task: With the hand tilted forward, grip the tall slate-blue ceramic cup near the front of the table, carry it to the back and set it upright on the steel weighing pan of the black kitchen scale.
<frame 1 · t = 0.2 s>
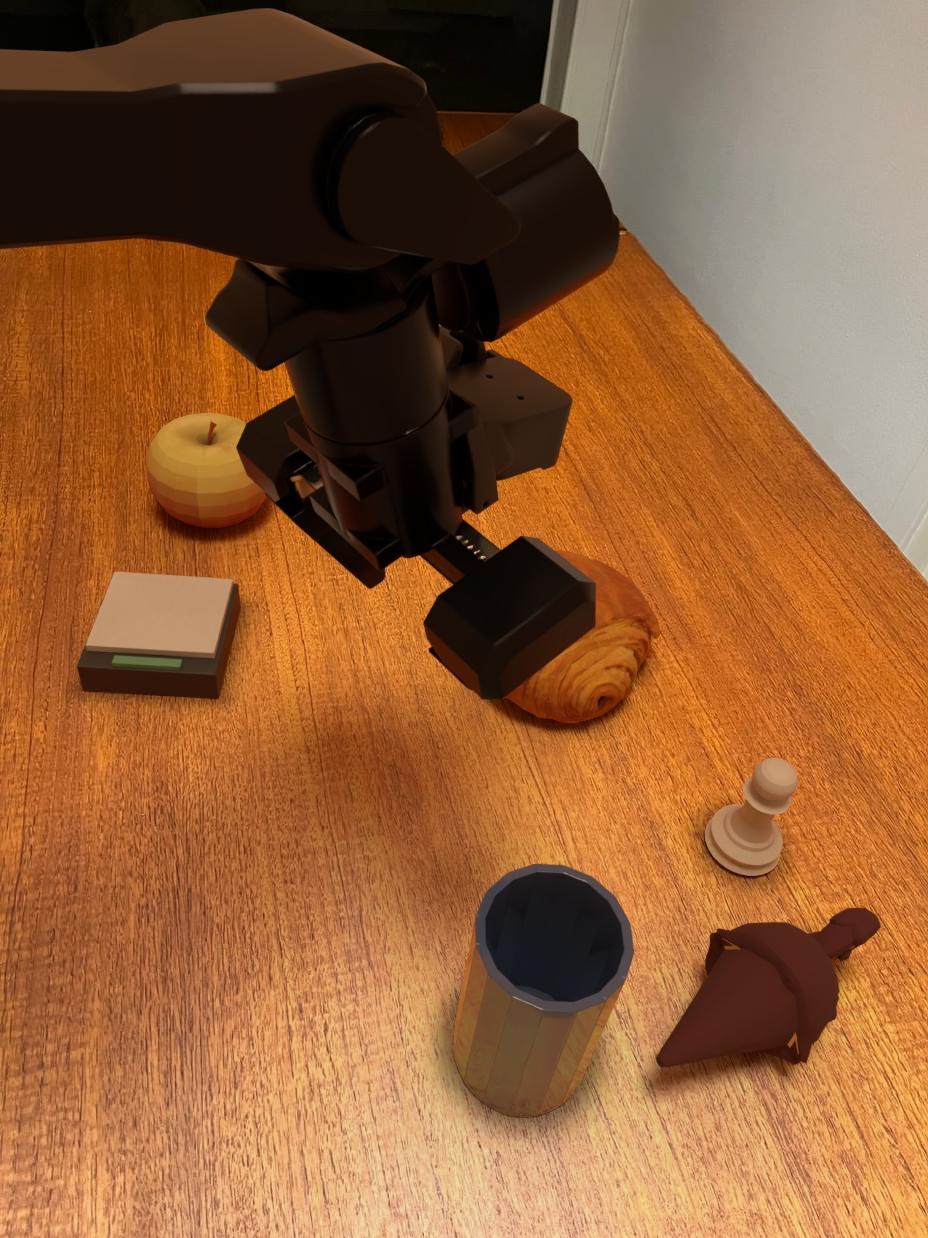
hand: (429, 633, 49), 16 cm above the table, tool pointing down, fingers open, 9 cm apart
cup: (519, 1047, 50), on the table
croissant: (550, 652, 72), on the table
apple: (215, 510, 80), on the table
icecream: (745, 1019, 53), on the table
chess piece: (740, 846, 61), on the table
scale: (165, 647, 68), on the table
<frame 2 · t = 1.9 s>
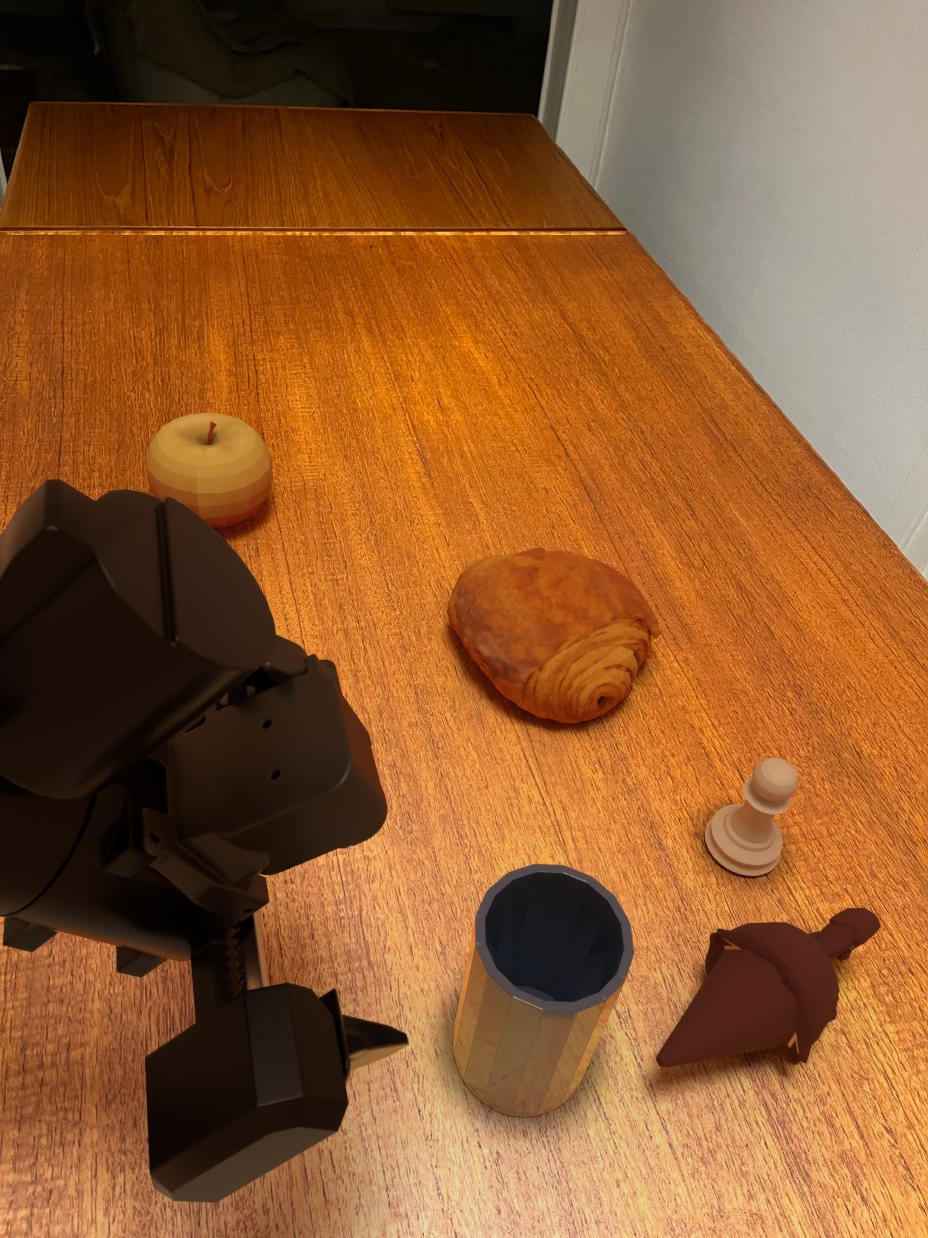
hand: (374, 934, 40), 14 cm above the table, tool tilted 45°, fingers open, 9 cm apart
nothing on the table moved.
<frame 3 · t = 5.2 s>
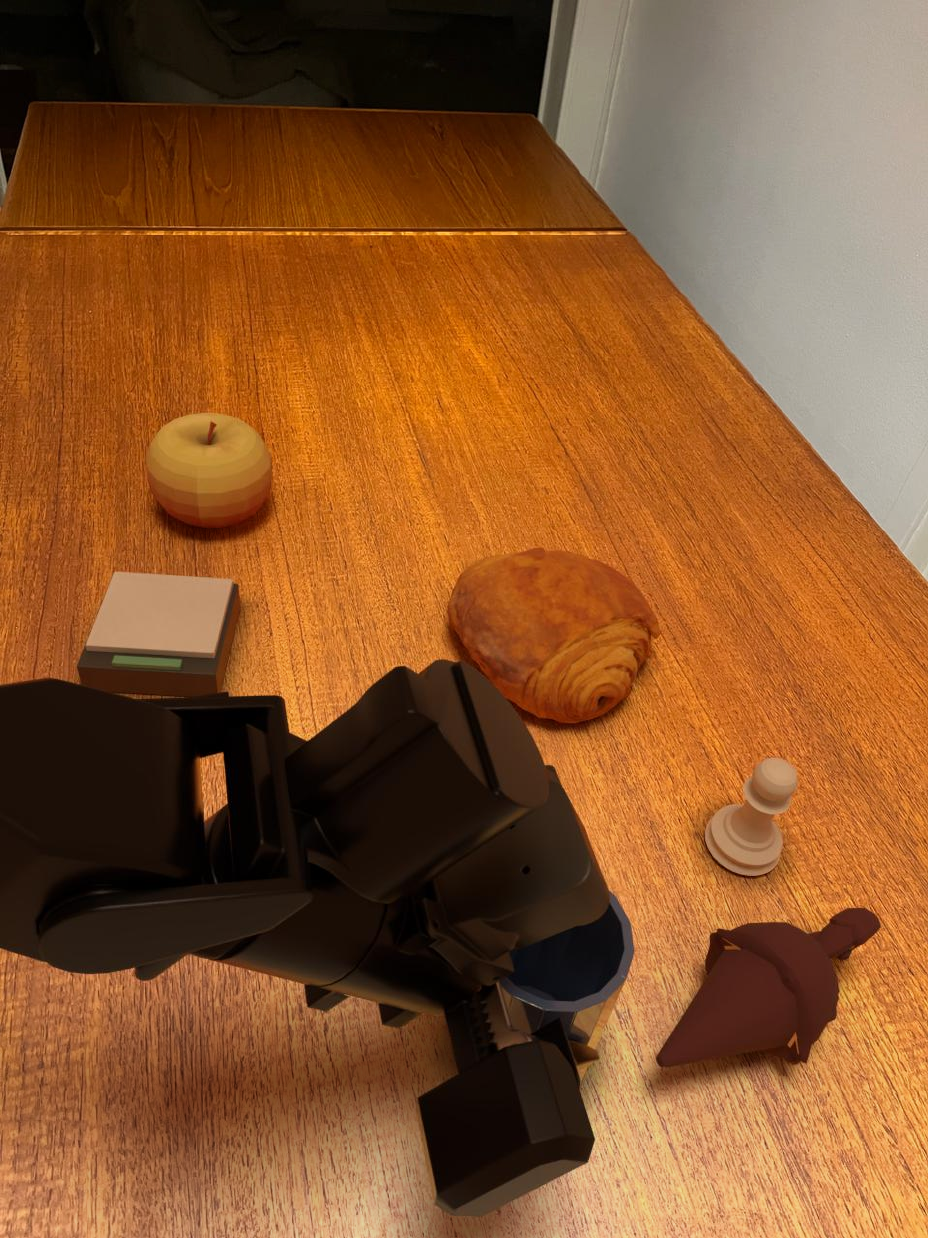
hand: (565, 984, 46), 7 cm above the table, tool tilted 45°, fingers closed on cup, 7 cm apart
cup: (519, 1047, 51), on the table, touching gripper
everything else where it was.
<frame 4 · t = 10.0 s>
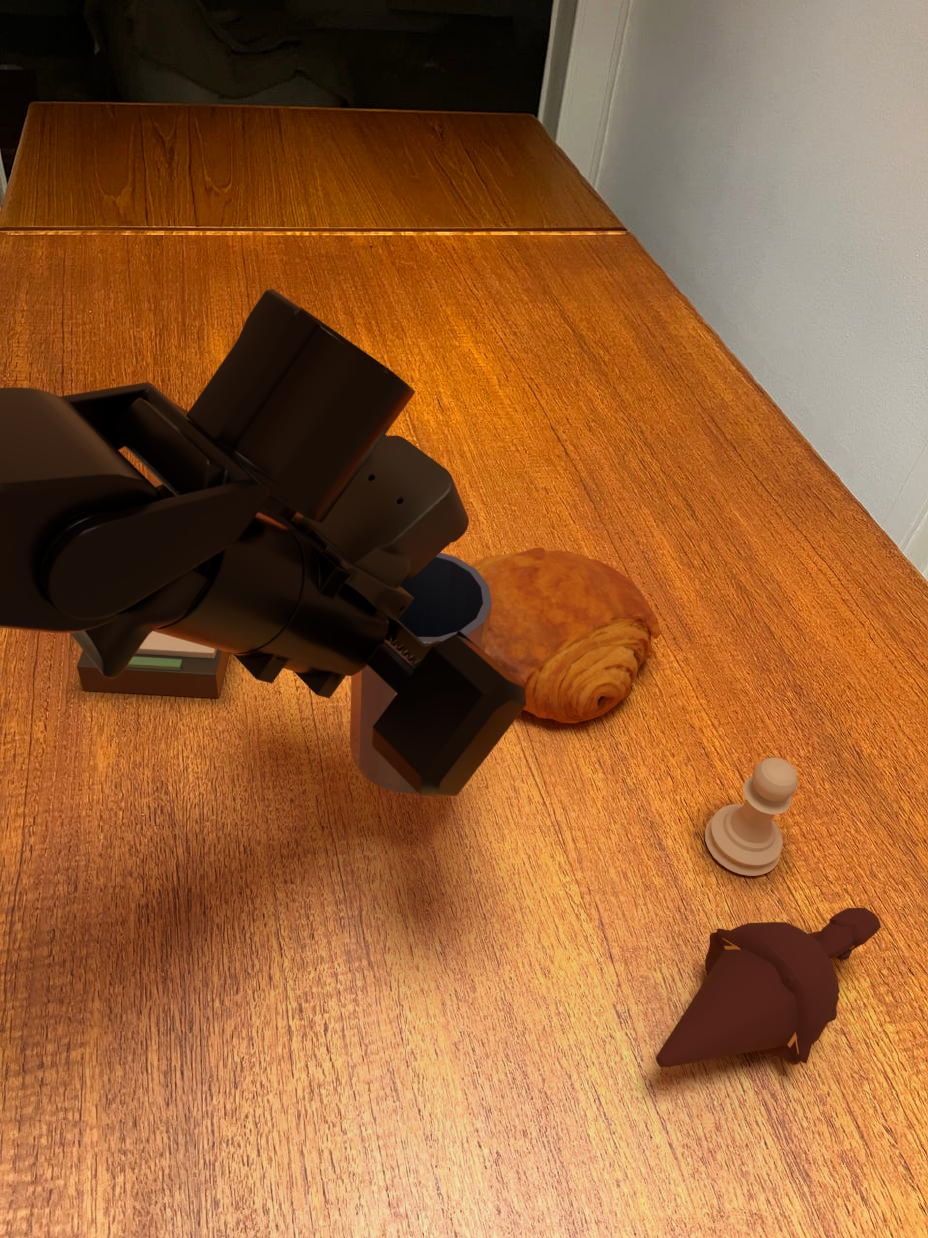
hand: (435, 657, 53), 12 cm above the table, tool tilted 45°, fingers closed on cup, 7 cm apart
cup: (409, 745, 57), point 6 cm above the table, touching gripper
everything else where it was.
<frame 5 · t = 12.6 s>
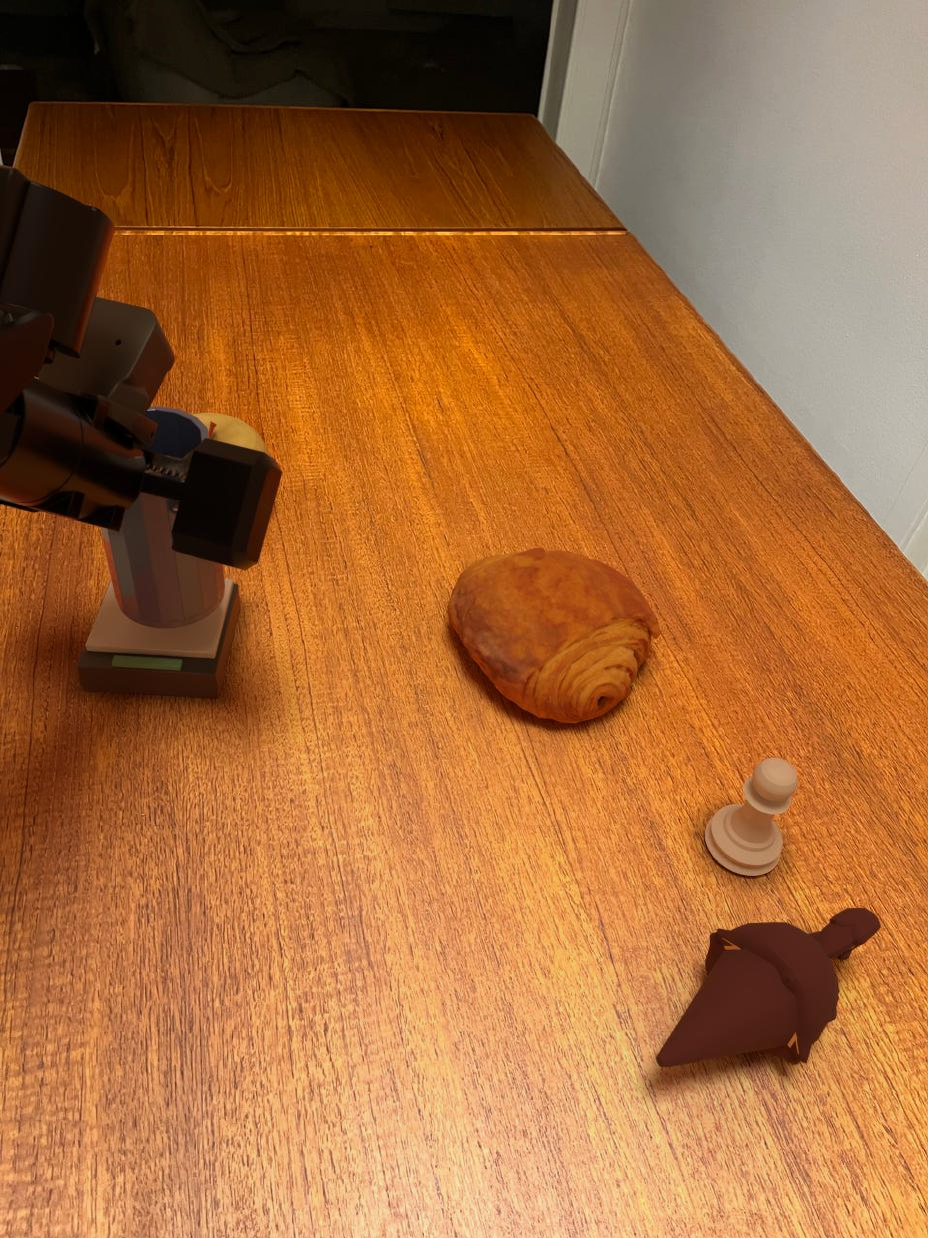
hand: (169, 500, 61), 12 cm above the table, tool tilted 45°, fingers closed on cup, 7 cm apart
cup: (171, 592, 64), point 6 cm above the table, touching gripper
everything else where it was.
when the fingers open (10 cm above the table, at t = 14.8 s): cup stays where it is, resting on scale.
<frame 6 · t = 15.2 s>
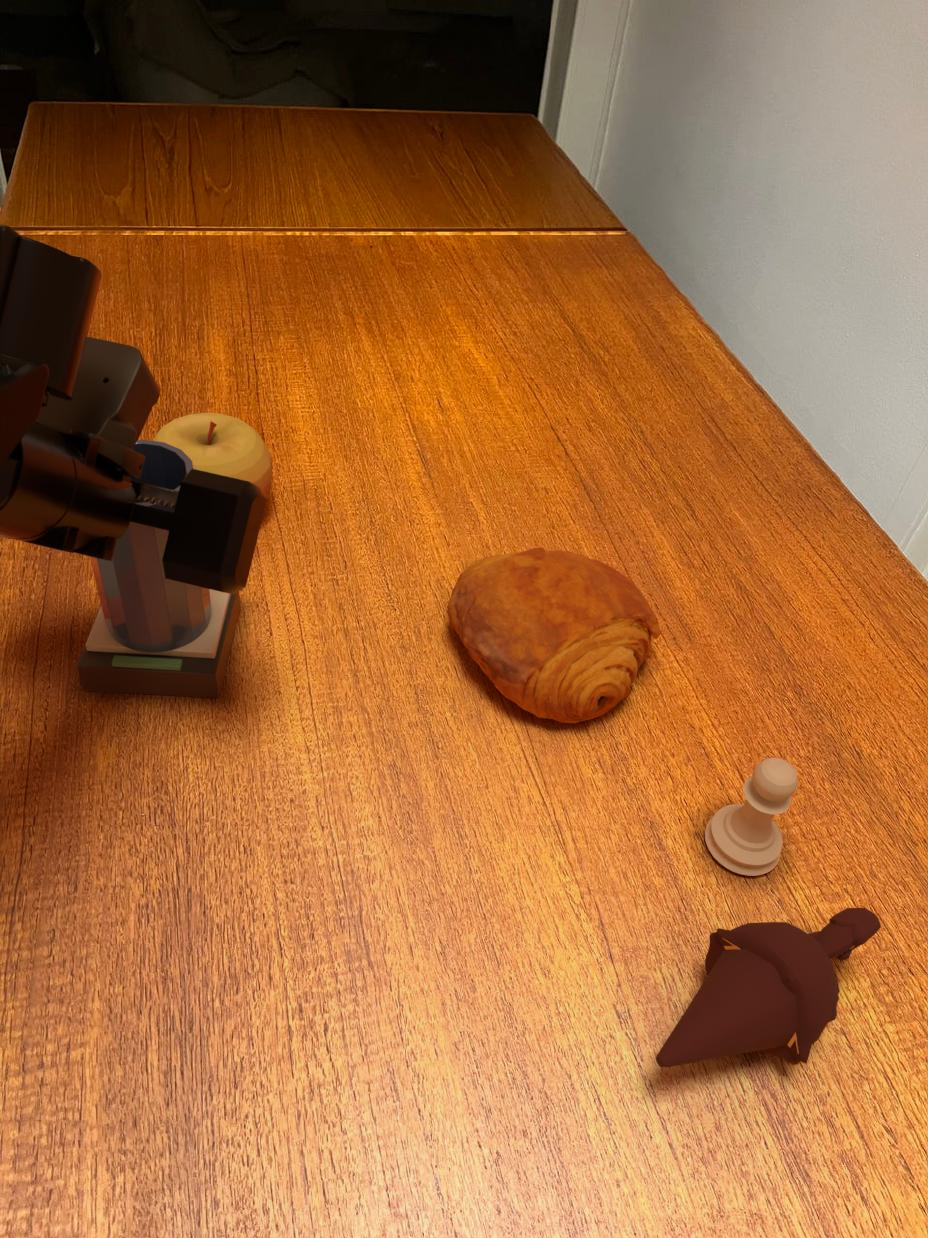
hand: (156, 524, 63), 10 cm above the table, tool tilted 45°, fingers open, 9 cm apart
cup: (159, 616, 66), point 3 cm above the table, touching scale
everything else where it was.
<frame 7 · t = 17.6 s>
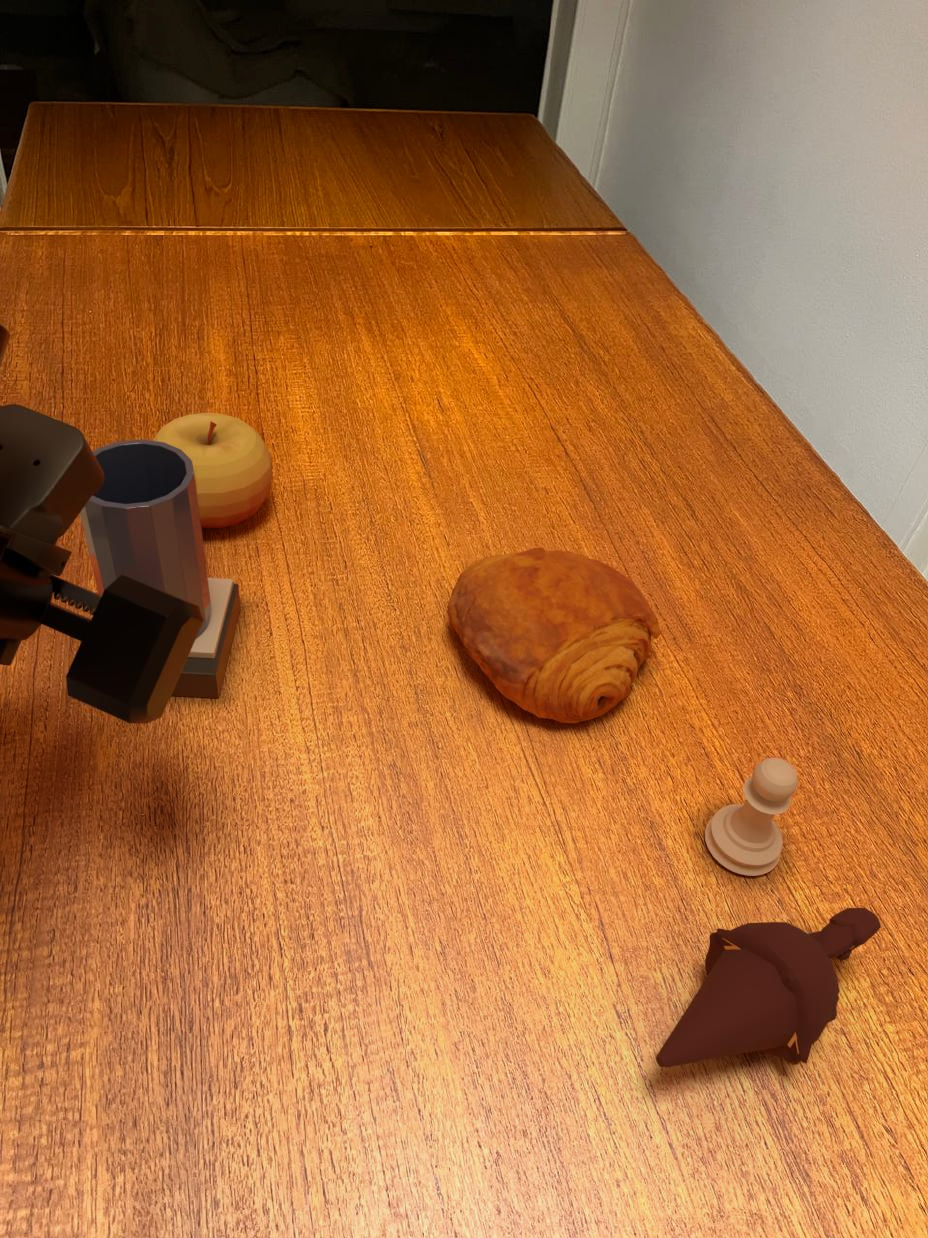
hand: (90, 614, 55), 11 cm above the table, tool tilted 40°, fingers open, 9 cm apart
nothing on the table moved.
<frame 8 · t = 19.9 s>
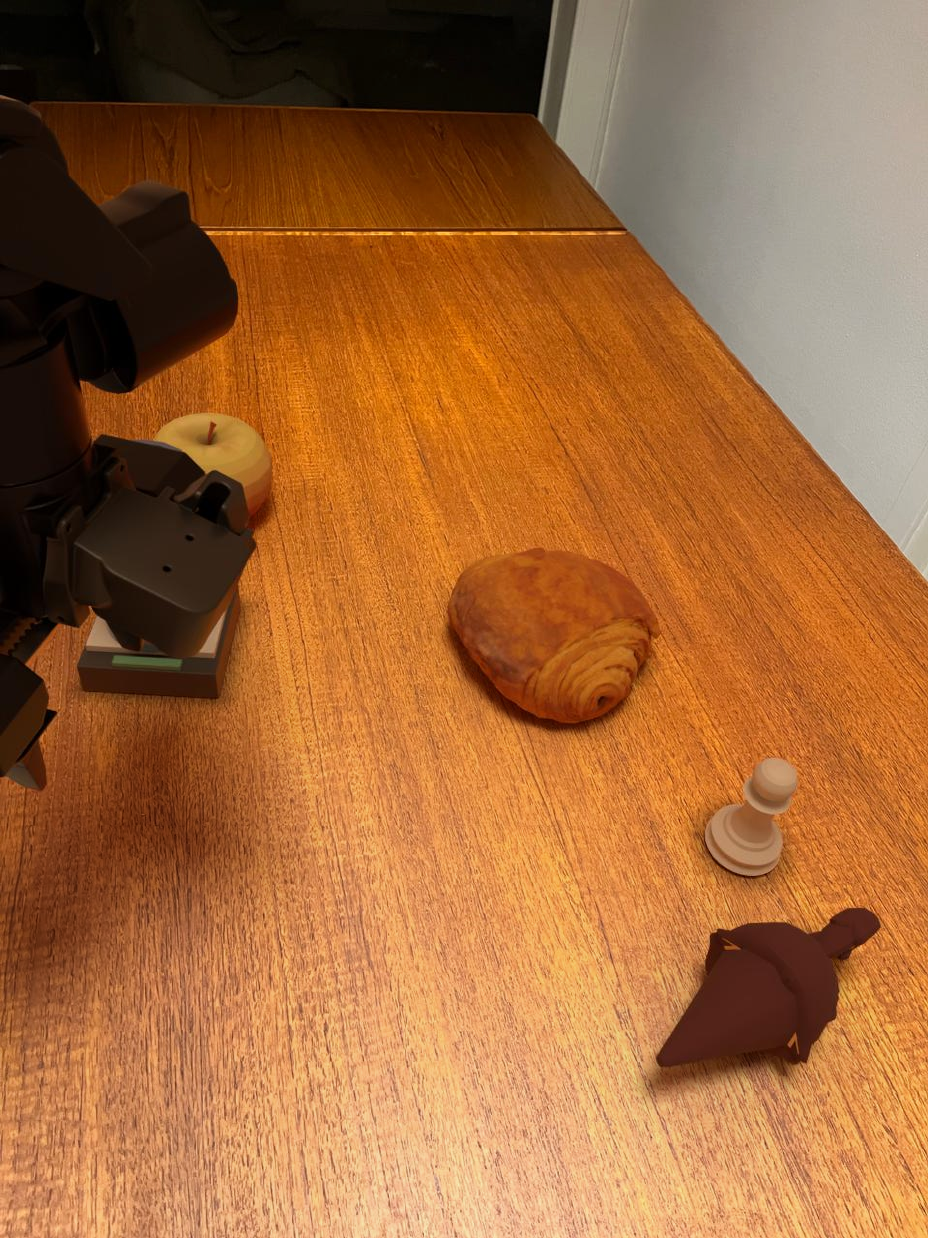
hand: (87, 712, 47), 13 cm above the table, tool pointing down, fingers open, 9 cm apart
nothing on the table moved.
at the end: cup inside the target area on the scale (0.8 cm from its centre), point 3.0 cm above the scale's base; cup tilted 0° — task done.
